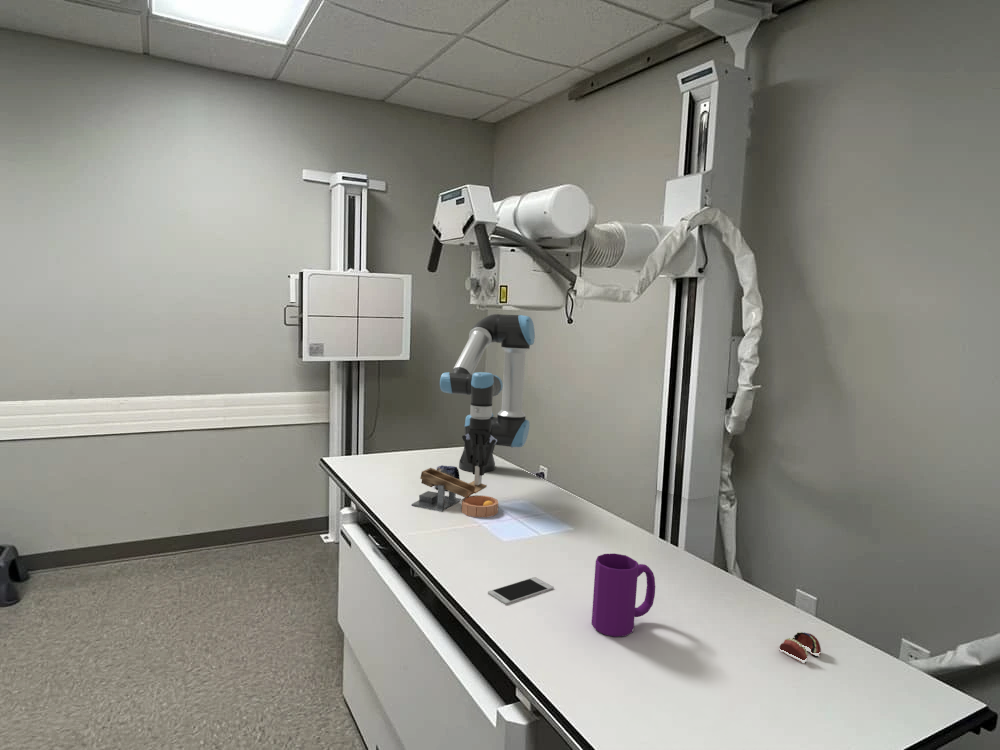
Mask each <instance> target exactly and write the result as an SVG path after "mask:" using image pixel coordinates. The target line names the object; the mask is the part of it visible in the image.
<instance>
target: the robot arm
mask: <svg viewBox="0 0 1000 750" xmlns="http://www.w3.org/2000/svg"><path fill="white" fill-rule="evenodd" d="M535 336H536V334H535V325H534V322H533V319H532V318H531V316H528V315H521V314H503V313H502V314H501V313H500V314H499V313H494V314H489V315H487V316H485V317H483V318H481V319H480V320H478V321H477V322H476V323H475V324H474V325H473V326H472V328H471V329H470V330H469V334H468V340H467V342H466V344H465V346H464V347H463V350H462V351H461V354H460V355H459V357H458V359H457V361H456V363H455V365H454V367H453V368H452V370H451V371H448V372H443V373H442V374H441V375H440V379H439V388H440V392H443V393H445V394H446V393H447V394H451V395H465V396H470V411H469V412H470V414H467V415H466V416H465V422H464V425H463V427H464V435H462V437H461V438H462V440H463V450H462V453H461V456H460V458H459V462H458V469H460V470H463V471H465V472H470V473H471V472H472V474H473V475H474V480H473V481H474V485H479V484H481V483H482V480H483V478H482V477H483V476H484V475H485V473H486V472H491V471H494V470H495V468H496V462H495V458H494V455H493V454H494V450H495V447H496V446H499V447H508V448H509V447H510V448H523V447H524V445H525V444H526V442H527V439H528V435H529V431H530V420H529V419H526V418H527V416H526V413H524V411H523V405H524V402H523V401H524V387H525V386H524V385H525V371H526V367H525V366H526V354H527V352H528V351H529V350H530V346H533V345H534V344H535ZM492 343H497V344H501V347H500V348H501V349H502V351H503V352H504V359H503V373H502V374H503V375H502V376H503V377H502V379H501V378H500V377H499V376H498V375H496V374H493V373H491V372H483V371H479V372H475V370H476V368H477V367H478V365H479V362H480V361H481V358H482V356H483V355H484V353H485V350H486V349H487V347H489V346H490V345H491V344H492ZM500 393H501V394H502V395H501V408H500V410H499V411H498V413H497V416H494V413H493V397H496V396H498V395H499V394H500ZM482 484H483V483H482Z"/></svg>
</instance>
